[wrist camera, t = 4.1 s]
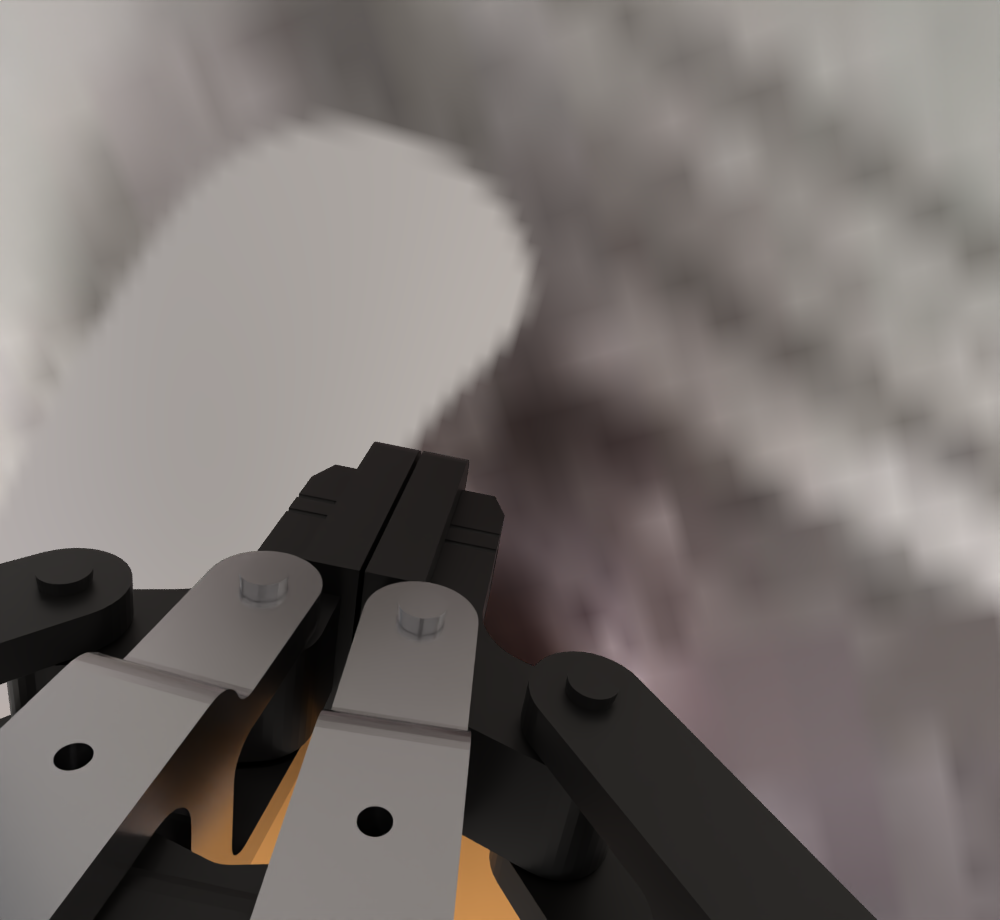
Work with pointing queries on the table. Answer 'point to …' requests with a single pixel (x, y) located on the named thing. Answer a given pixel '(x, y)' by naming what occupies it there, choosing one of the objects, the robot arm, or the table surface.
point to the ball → (478, 897)
